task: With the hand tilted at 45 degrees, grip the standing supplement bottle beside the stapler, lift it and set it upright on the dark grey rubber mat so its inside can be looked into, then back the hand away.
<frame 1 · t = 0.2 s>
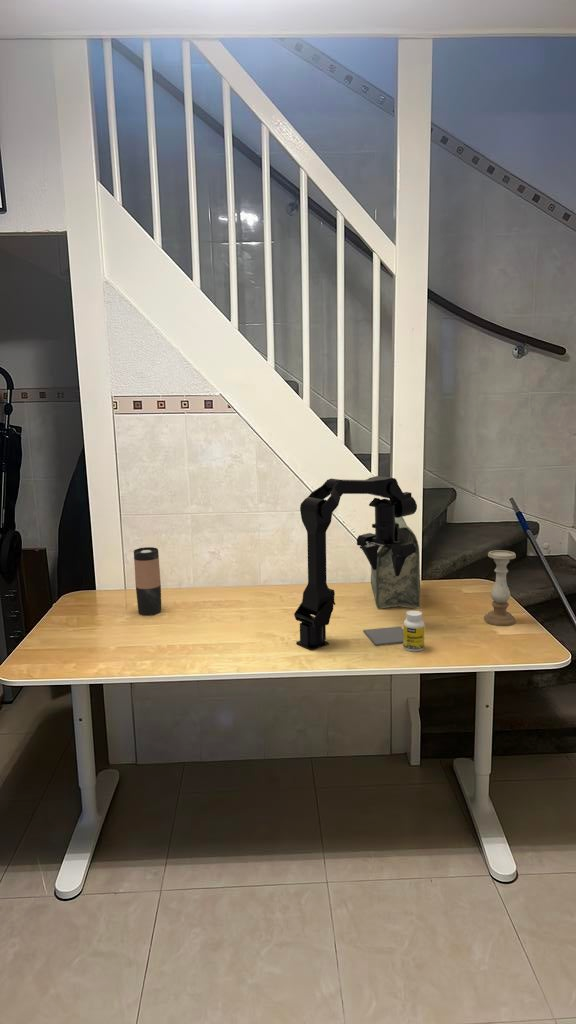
hand: (385, 572, 200), 15 cm above the table, tool pointing down, fingers open, 9 cm apart
travel mug: (150, 612, 217), on the table
supplement bottle: (413, 648, 182), on the table
bag: (393, 599, 223), on the table
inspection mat: (388, 636, 191), on the table
candle holder: (499, 621, 201), on the table
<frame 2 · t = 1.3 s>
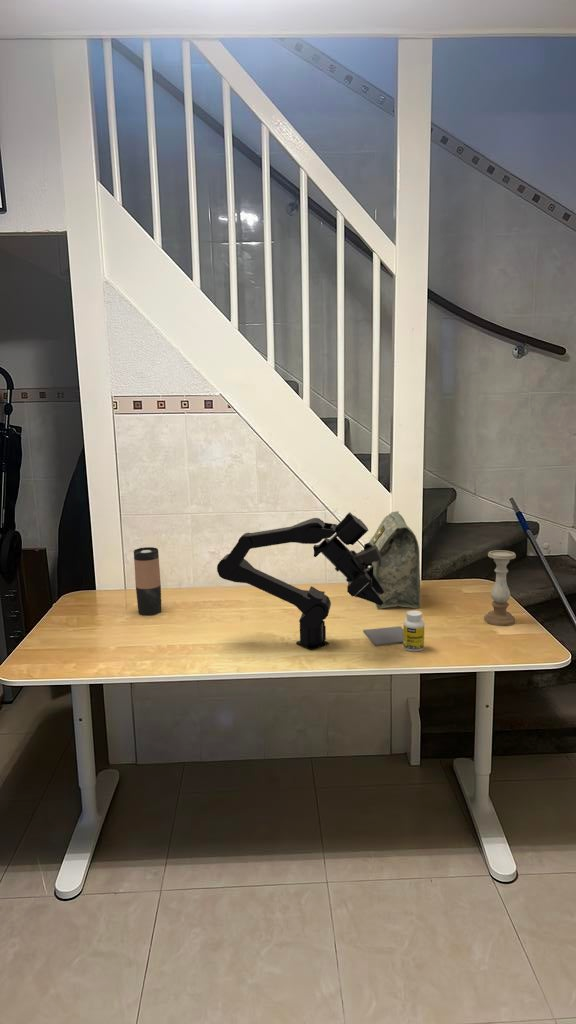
hand: (382, 598, 181), 13 cm above the table, tool tilted 45°, fingers open, 9 cm apart
nothing on the table moved.
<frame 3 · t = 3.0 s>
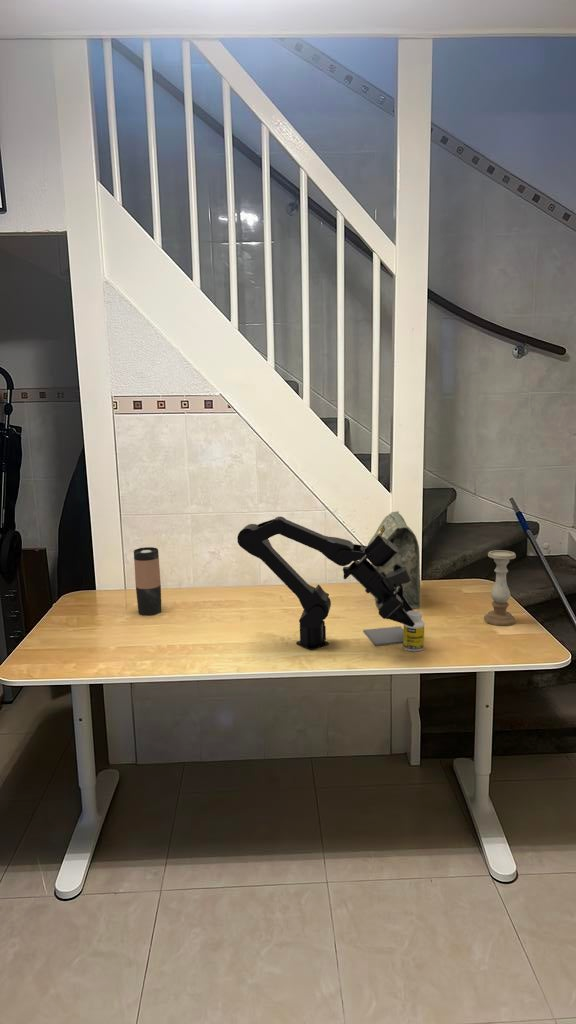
hand: (413, 619, 181), 8 cm above the table, tool tilted 45°, fingers open, 9 cm apart
nothing on the table moved.
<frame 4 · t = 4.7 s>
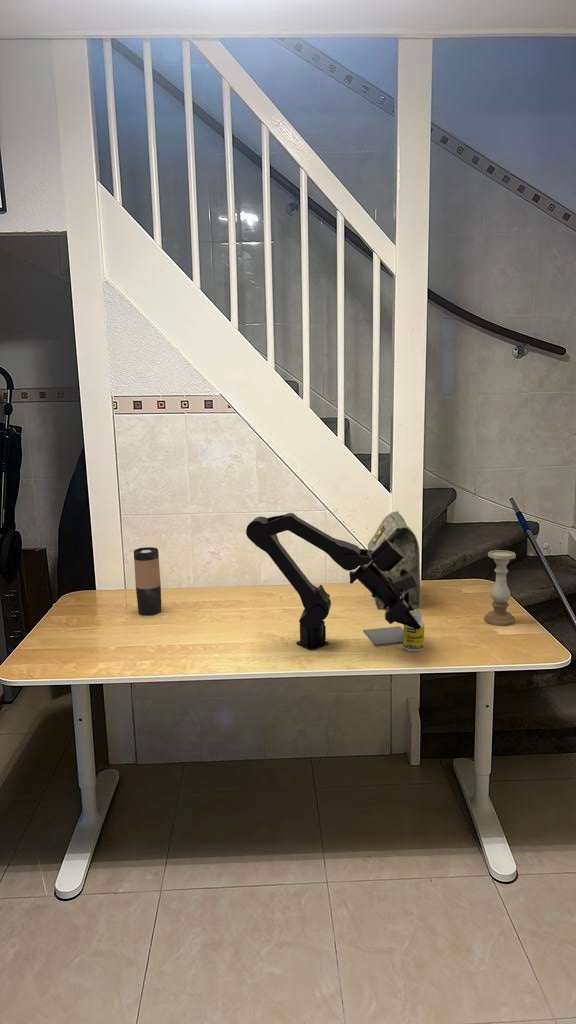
hand: (419, 624, 181), 7 cm above the table, tool tilted 45°, fingers closed on supplement bottle, 5 cm apart
supplement bottle: (413, 648, 182), on the table, touching gripper
everything else where it was.
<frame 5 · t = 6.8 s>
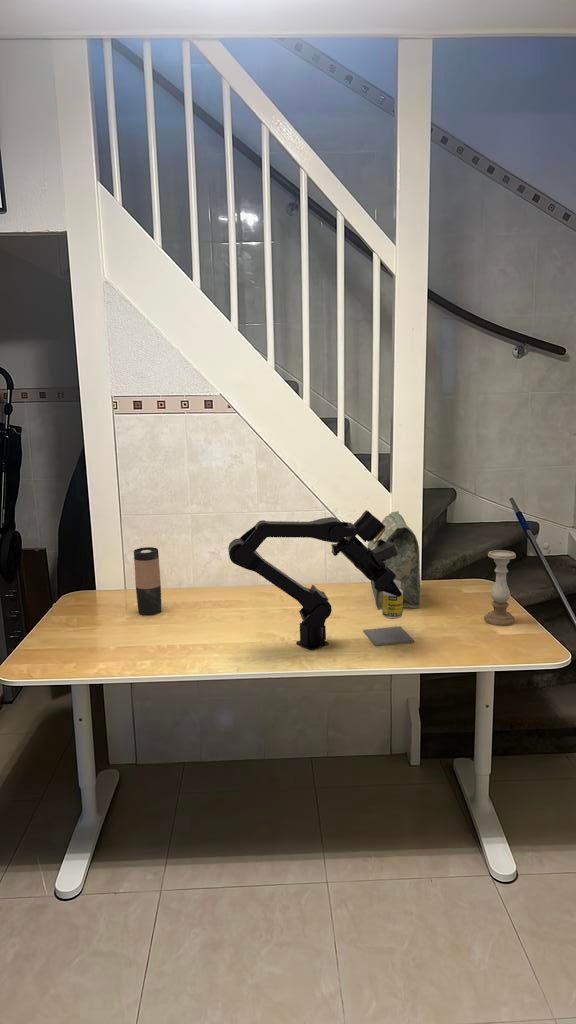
hand: (397, 592, 187), 13 cm above the table, tool tilted 45°, fingers closed on supplement bottle, 5 cm apart
supplement bottle: (392, 617, 188), point 6 cm above the table, touching gripper
everything else where it was.
when the fingers open (8 cm above the table, at t = 9.0 s): supplement bottle stays where it is, resting on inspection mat.
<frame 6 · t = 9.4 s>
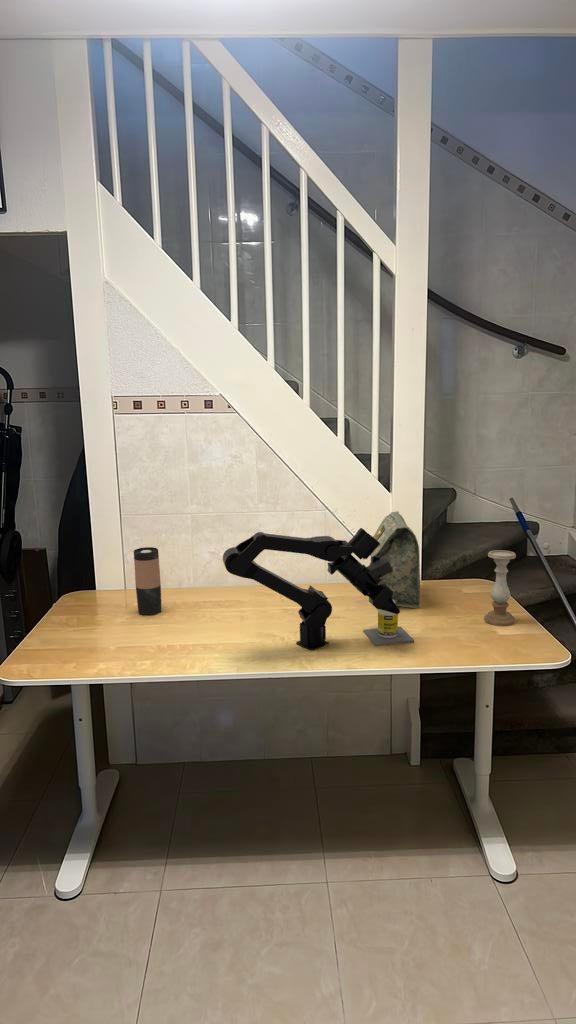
hand: (393, 607, 189), 8 cm above the table, tool tilted 45°, fingers open, 9 cm apart
supplement bottle: (387, 635, 190), resting on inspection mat
everything else where it was.
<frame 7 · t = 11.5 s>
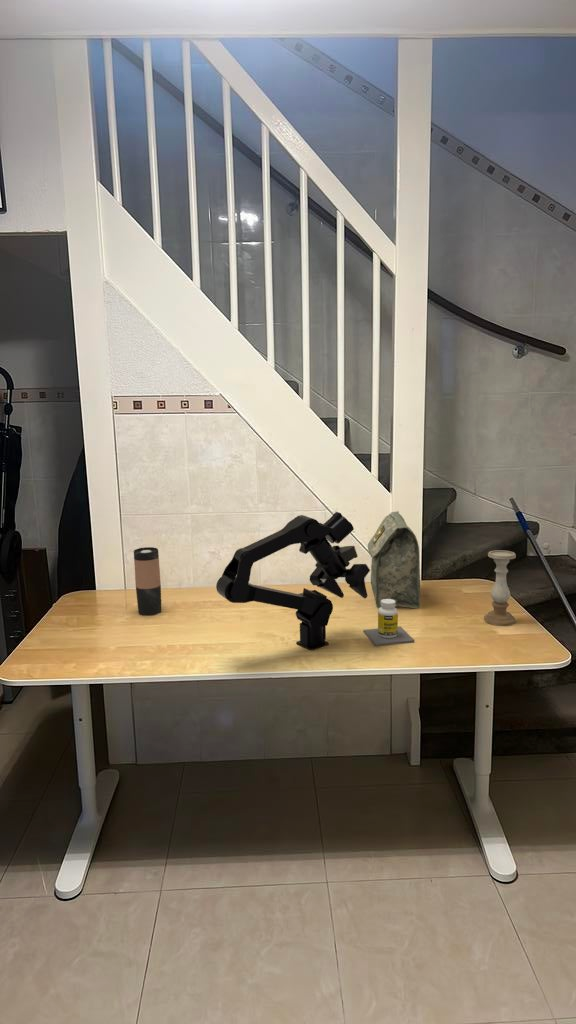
hand: (354, 597, 189), 11 cm above the table, tool tilted 35°, fingers open, 9 cm apart
nothing on the table moved.
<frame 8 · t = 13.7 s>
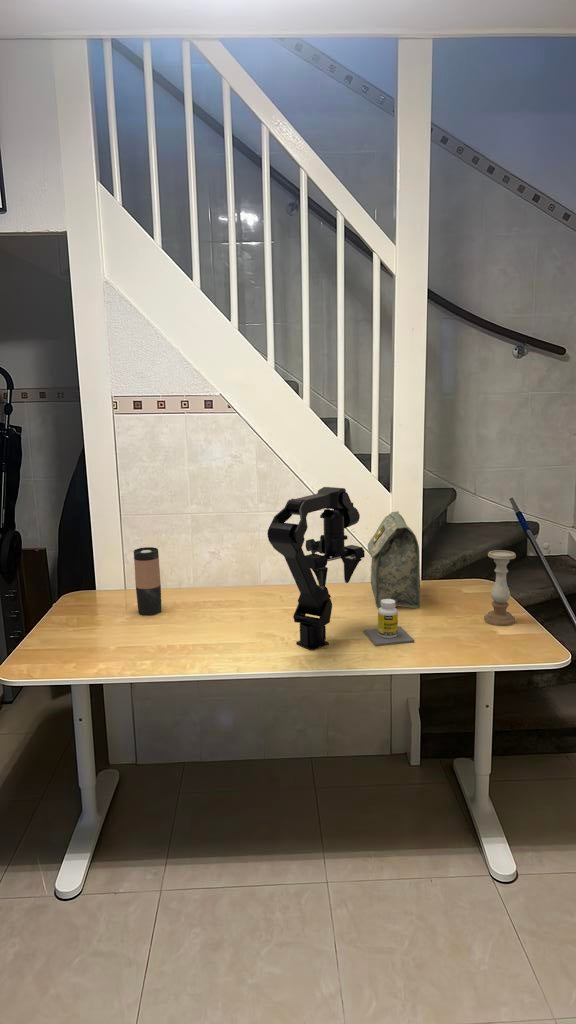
hand: (334, 586, 195), 13 cm above the table, tool pointing down, fingers open, 9 cm apart
nothing on the table moved.
at the end: supplement bottle inside the target area on the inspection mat (0.1 cm from its centre), point 0.4 cm above the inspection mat's base; supplement bottle tilted 0°; the gripper is holding nothing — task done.
